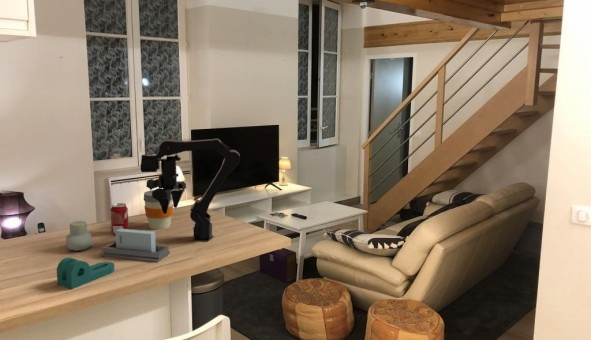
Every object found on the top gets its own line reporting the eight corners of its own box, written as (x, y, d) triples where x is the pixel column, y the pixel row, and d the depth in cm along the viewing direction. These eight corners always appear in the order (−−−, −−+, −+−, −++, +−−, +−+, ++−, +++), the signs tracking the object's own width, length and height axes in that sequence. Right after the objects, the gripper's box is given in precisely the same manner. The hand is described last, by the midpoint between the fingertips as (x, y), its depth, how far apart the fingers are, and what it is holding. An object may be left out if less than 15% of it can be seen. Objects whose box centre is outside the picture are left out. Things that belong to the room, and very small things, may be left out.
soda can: (123, 236, 200) (121, 207, 198) (108, 234, 202) (106, 206, 200) (131, 231, 207) (130, 203, 205) (117, 229, 208) (116, 202, 206)
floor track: (169, 253, 181) (169, 245, 181) (158, 262, 172) (157, 254, 172) (116, 248, 186) (115, 240, 185) (101, 256, 177) (101, 248, 176)
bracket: (72, 290, 149) (70, 265, 148) (57, 285, 152) (55, 261, 151) (118, 270, 165) (117, 248, 163) (104, 266, 168) (103, 244, 167)
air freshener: (93, 251, 182) (91, 225, 180) (68, 254, 178) (67, 228, 177) (89, 242, 192) (88, 218, 190) (66, 245, 188) (64, 220, 186)
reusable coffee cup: (170, 230, 208) (169, 196, 206) (140, 230, 208) (139, 195, 206) (177, 222, 221) (176, 189, 218) (149, 221, 221) (148, 189, 218)
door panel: (155, 252, 179) (155, 231, 177) (151, 255, 176) (150, 234, 174) (121, 249, 182) (120, 228, 180) (116, 252, 179) (115, 230, 177)
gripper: (160, 167, 203) (162, 203, 205) (137, 175, 185) (139, 215, 187) (186, 168, 201) (187, 205, 203) (165, 176, 183) (167, 217, 185)
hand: (170, 210), depth 195 cm, fingers open, 9 cm apart
